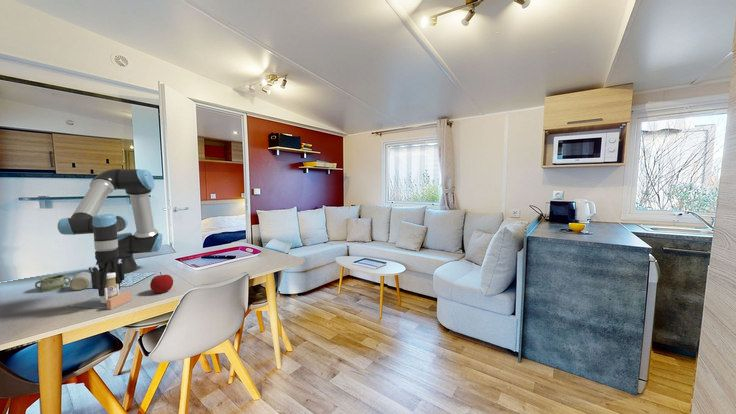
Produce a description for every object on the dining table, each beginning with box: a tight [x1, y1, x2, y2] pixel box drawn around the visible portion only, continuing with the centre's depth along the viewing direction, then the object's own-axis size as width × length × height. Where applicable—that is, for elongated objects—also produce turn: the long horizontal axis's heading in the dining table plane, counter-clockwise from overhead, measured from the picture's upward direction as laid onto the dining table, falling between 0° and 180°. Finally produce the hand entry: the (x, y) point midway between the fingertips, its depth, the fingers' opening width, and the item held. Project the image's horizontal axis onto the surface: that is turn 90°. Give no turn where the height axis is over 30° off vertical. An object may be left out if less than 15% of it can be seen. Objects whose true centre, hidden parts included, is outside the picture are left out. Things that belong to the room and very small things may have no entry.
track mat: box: [70, 291, 132, 310], centre depth 121 cm, size 9×20×4 cm, turn 84°
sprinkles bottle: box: [104, 272, 117, 304], centre depth 121 cm, size 5×5×14 cm
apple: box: [149, 272, 174, 294], centre depth 136 cm, size 9×9×10 cm
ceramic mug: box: [68, 271, 92, 291], centre depth 139 cm, size 11×8×8 cm
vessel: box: [34, 274, 72, 293], centre depth 137 cm, size 12×9×6 cm
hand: (110, 299), depth 121 cm, fingers closed on sprinkles bottle, 4 cm apart
